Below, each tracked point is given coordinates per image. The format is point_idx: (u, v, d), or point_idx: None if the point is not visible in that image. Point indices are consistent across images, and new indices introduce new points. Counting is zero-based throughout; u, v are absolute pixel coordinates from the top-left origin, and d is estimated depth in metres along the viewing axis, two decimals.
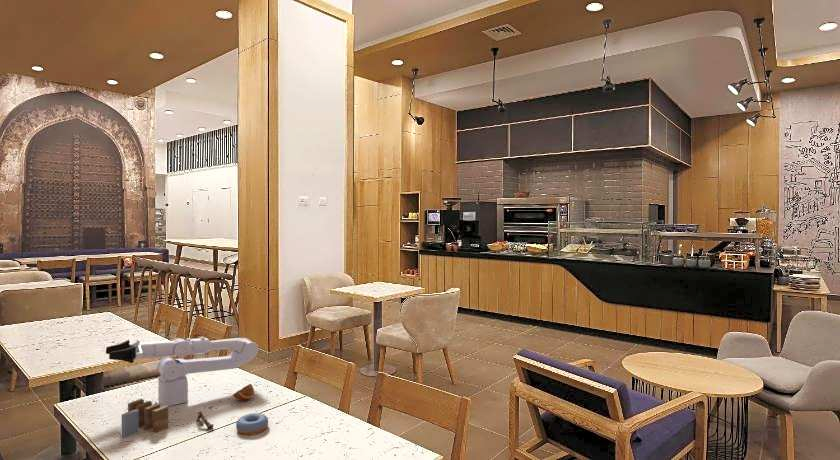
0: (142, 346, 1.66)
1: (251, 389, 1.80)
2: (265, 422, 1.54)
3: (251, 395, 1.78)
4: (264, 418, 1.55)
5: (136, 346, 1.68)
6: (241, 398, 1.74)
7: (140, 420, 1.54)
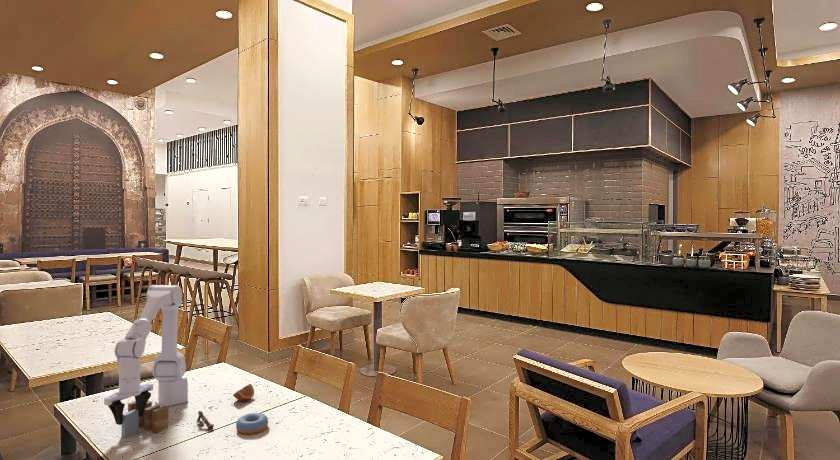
0: (140, 387, 1.50)
1: (251, 389, 1.80)
2: (265, 422, 1.54)
3: (251, 395, 1.78)
4: (264, 418, 1.55)
5: None
6: (241, 398, 1.74)
7: (140, 420, 1.54)
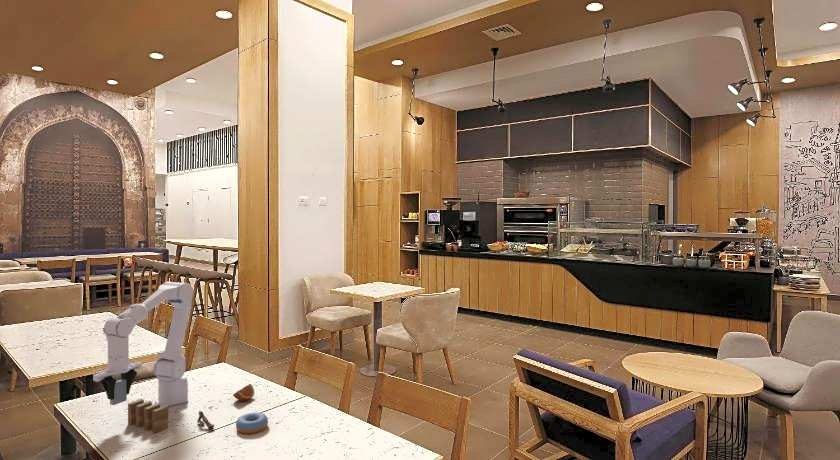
0: (128, 365, 1.55)
1: (251, 389, 1.80)
2: (265, 421, 1.54)
3: (251, 395, 1.78)
4: (264, 417, 1.55)
5: None
6: (241, 398, 1.74)
7: (140, 420, 1.54)
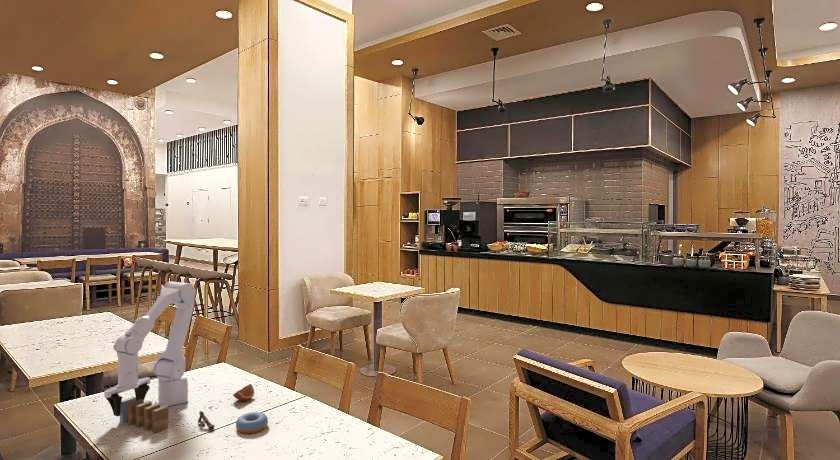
0: (137, 381, 1.60)
1: (251, 389, 1.80)
2: (265, 421, 1.54)
3: (251, 395, 1.78)
4: (264, 417, 1.56)
5: None
6: (241, 398, 1.74)
7: (140, 420, 1.54)
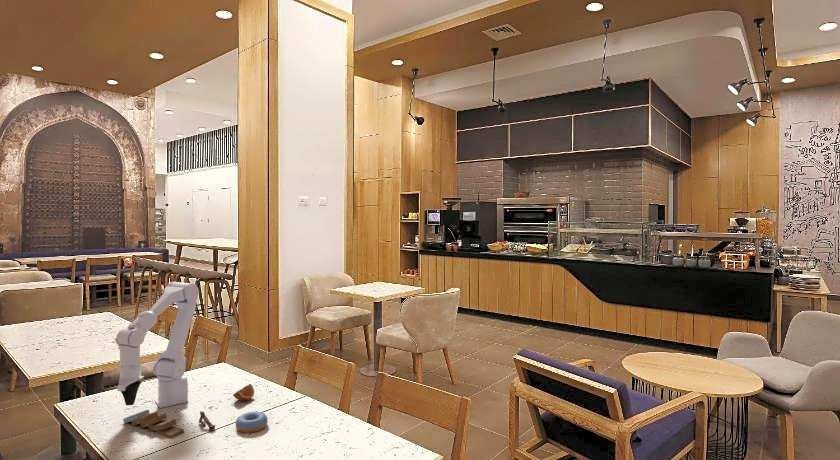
0: None
1: (251, 389, 1.80)
2: (264, 420, 1.55)
3: (251, 395, 1.78)
4: (263, 416, 1.56)
5: None
6: (241, 398, 1.74)
7: None
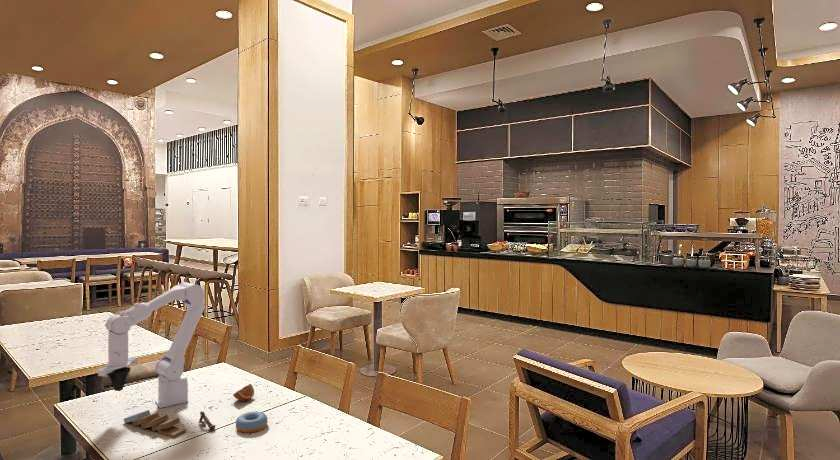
0: (128, 360, 1.63)
1: (251, 389, 1.80)
2: (264, 420, 1.55)
3: (251, 395, 1.78)
4: (263, 416, 1.56)
5: None
6: (241, 398, 1.74)
7: None
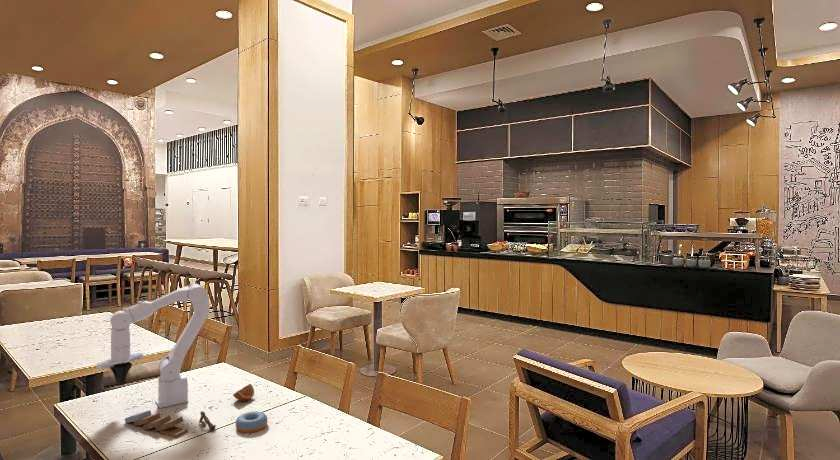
0: (129, 355, 1.66)
1: (251, 389, 1.80)
2: (264, 420, 1.55)
3: (251, 395, 1.78)
4: (263, 416, 1.56)
5: None
6: (241, 398, 1.74)
7: None
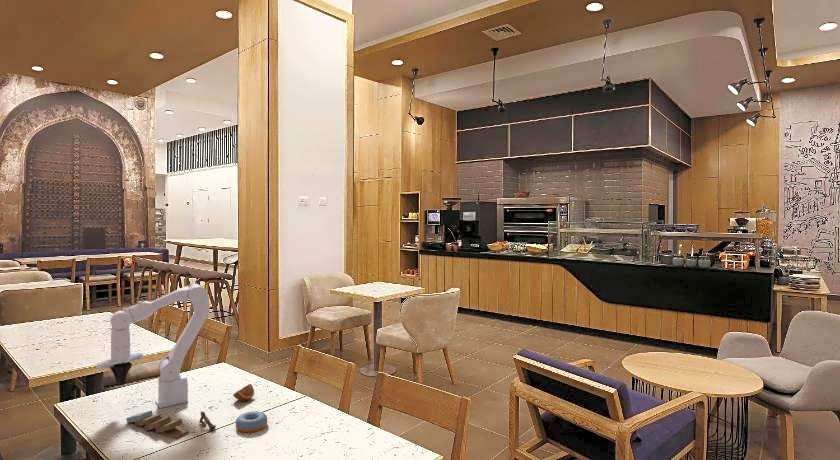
0: (129, 355, 1.66)
1: (251, 389, 1.80)
2: (264, 420, 1.55)
3: (251, 395, 1.78)
4: (263, 416, 1.56)
5: None
6: (241, 398, 1.74)
7: None
